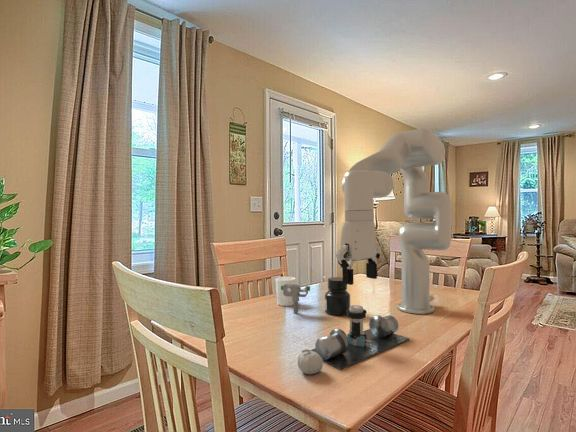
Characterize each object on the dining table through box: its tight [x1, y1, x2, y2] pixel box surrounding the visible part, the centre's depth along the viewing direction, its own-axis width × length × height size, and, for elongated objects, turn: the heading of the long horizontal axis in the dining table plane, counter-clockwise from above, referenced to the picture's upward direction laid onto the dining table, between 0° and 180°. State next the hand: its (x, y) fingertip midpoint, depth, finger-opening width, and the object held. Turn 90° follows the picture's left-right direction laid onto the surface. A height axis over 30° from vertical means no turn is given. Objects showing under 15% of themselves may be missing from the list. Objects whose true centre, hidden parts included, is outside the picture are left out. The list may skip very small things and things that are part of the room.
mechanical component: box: [281, 283, 311, 315], centre depth 122 cm, size 3×10×10 cm, turn 79°
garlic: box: [297, 348, 324, 375], centre depth 78 cm, size 6×5×5 cm
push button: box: [346, 304, 372, 347], centre depth 92 cm, size 7×5×10 cm
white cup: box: [275, 276, 297, 307], centre depth 135 cm, size 8×8×10 cm
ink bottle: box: [324, 276, 351, 317], centre depth 123 cm, size 10×9×12 cm
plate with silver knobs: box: [308, 315, 410, 371], centre depth 92 cm, size 28×12×6 cm, turn 129°
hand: (360, 280), depth 92 cm, fingers open, 9 cm apart
